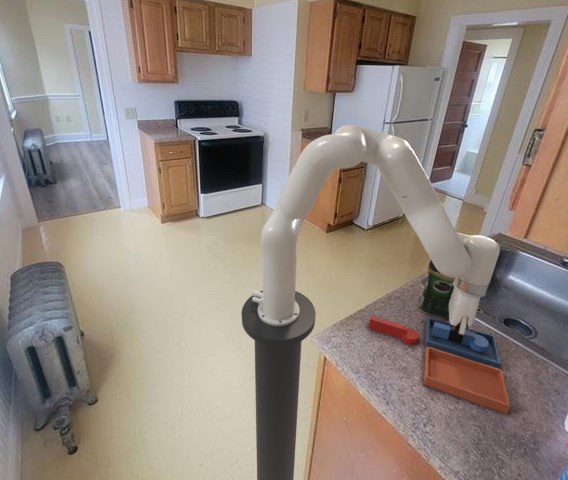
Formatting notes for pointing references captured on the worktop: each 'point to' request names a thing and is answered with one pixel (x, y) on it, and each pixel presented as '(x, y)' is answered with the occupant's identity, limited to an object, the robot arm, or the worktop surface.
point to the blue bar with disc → (468, 339)
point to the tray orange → (466, 379)
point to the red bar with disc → (394, 329)
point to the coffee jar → (437, 292)
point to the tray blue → (463, 346)
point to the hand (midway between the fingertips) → (454, 337)
